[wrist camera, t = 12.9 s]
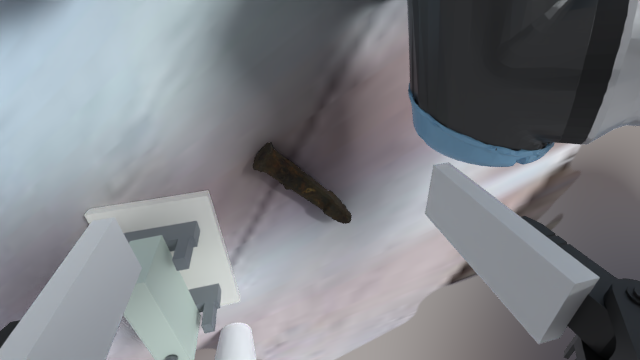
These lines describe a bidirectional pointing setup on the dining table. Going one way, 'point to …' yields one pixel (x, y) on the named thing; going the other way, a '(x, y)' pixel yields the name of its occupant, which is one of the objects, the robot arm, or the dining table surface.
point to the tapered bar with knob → (162, 304)
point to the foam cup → (236, 343)
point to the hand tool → (300, 183)
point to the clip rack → (183, 244)
